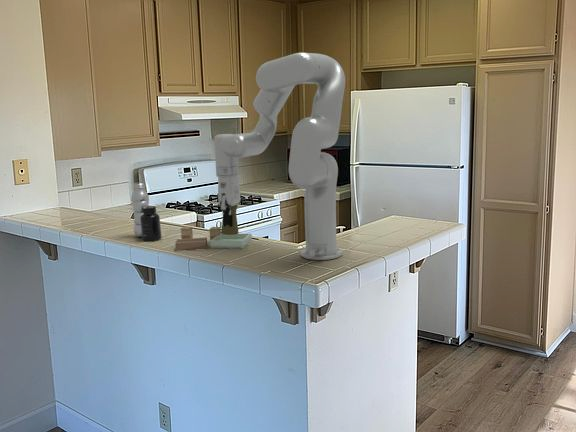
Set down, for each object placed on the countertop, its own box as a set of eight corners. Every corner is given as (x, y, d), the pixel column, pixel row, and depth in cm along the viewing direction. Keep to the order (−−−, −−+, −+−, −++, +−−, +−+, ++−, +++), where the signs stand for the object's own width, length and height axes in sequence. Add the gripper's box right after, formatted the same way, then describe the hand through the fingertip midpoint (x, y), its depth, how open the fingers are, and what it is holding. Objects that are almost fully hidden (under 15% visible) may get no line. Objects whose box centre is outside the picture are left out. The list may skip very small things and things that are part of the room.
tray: (242, 248, 188) (242, 241, 187) (210, 247, 190) (209, 240, 190) (251, 240, 199) (251, 233, 198) (221, 240, 201) (220, 233, 201)
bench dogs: (218, 242, 197) (217, 228, 196) (181, 242, 200) (180, 228, 199) (221, 240, 200) (220, 226, 199) (185, 240, 203) (184, 226, 202)
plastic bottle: (139, 239, 207) (134, 185, 203) (131, 236, 212) (126, 183, 208) (155, 236, 211) (151, 182, 207) (147, 233, 216) (143, 181, 212)
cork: (234, 235, 190) (234, 203, 188) (218, 234, 192) (217, 201, 190) (241, 231, 196) (241, 200, 194) (224, 230, 198) (224, 198, 195)
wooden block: (206, 250, 189) (205, 241, 188) (175, 252, 188) (175, 243, 188) (207, 246, 195) (207, 237, 194) (178, 247, 194) (177, 239, 193)
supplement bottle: (151, 236, 211) (149, 204, 208) (165, 238, 207) (162, 205, 205) (138, 240, 205) (135, 208, 203) (152, 242, 201) (149, 209, 199)
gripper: (230, 174, 181) (233, 230, 185) (245, 168, 197) (247, 220, 200) (208, 174, 183) (211, 230, 186) (224, 168, 198) (227, 220, 202)
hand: (230, 224), depth 193 cm, fingers closed on cork, 3 cm apart
